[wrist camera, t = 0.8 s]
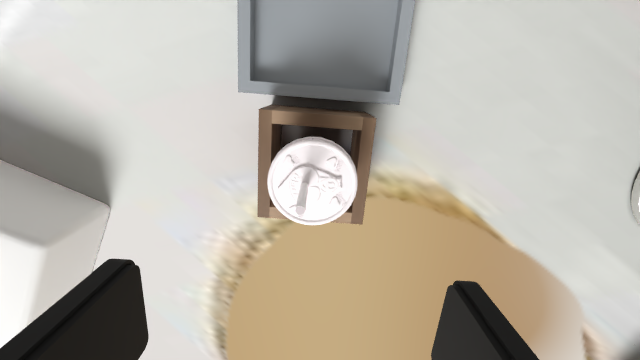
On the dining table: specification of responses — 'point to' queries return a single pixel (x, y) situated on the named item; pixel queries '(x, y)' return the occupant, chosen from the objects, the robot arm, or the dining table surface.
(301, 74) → the slate tray
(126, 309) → the robot arm
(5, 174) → the tray
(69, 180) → the dining table surface
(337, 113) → the deep holder
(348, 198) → the smoothie
